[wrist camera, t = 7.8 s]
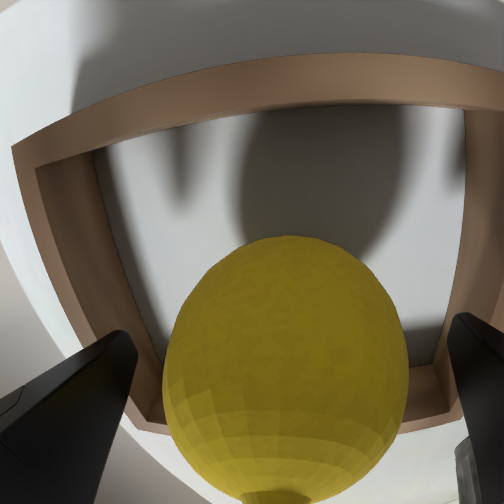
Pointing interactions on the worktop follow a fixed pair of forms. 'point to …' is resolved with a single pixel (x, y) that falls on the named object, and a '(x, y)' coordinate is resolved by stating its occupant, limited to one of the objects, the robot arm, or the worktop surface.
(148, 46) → the worktop surface
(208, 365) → the lemon
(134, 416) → the box
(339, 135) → the worktop surface
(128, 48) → the worktop surface
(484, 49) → the worktop surface
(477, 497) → the beverage cup
